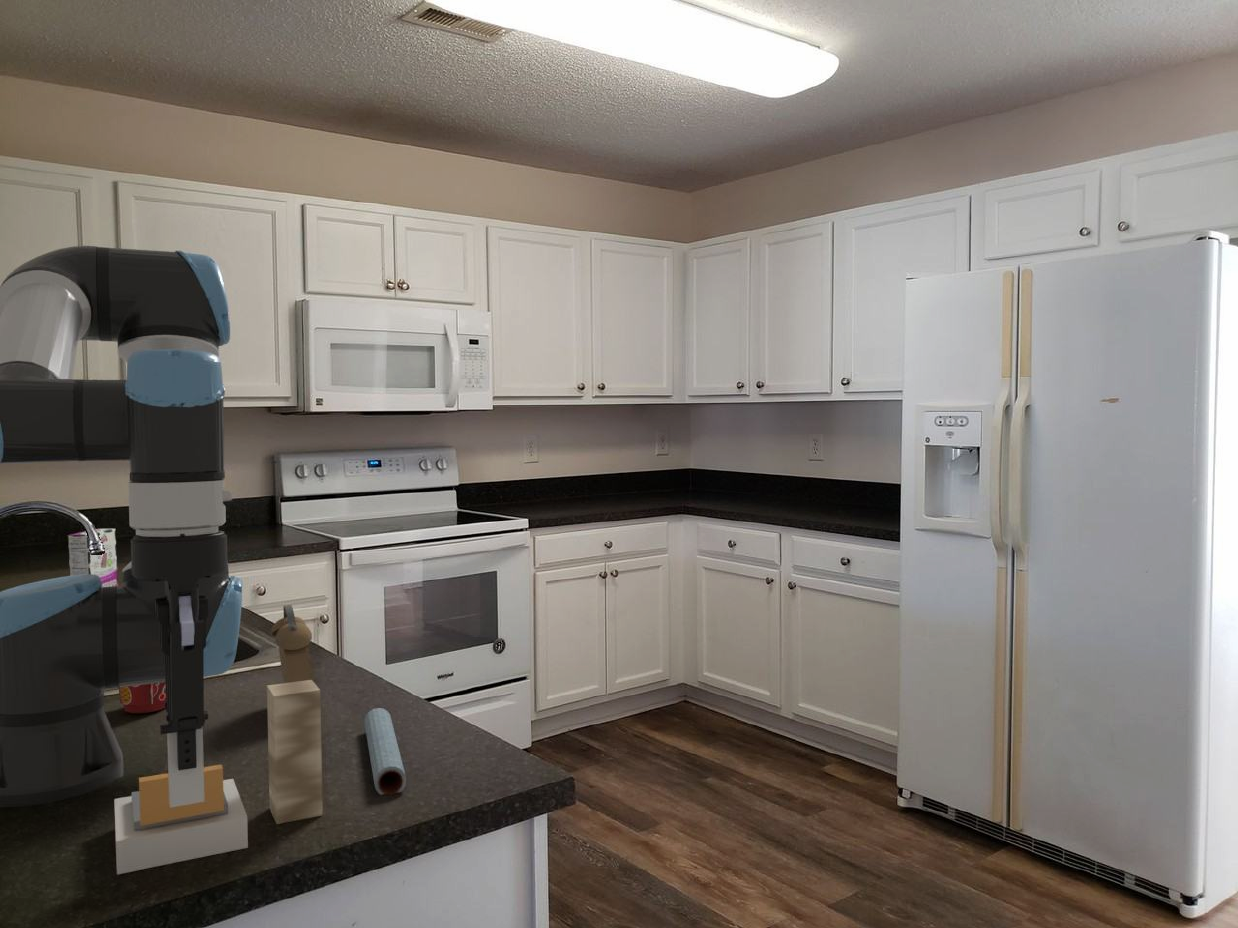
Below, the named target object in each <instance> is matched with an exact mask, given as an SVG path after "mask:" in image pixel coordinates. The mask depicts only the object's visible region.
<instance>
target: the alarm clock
mask: <svg viewBox="0 0 1238 928" xmlns="http://www.w3.org/2000/svg"><path fill="white" fill-rule="evenodd" d="M282 609H283V618H281V619H280V618H279V620H277V621H275V623H274V624H273V625H272V628H271V634H272V636H274V637H275V643H276V645H277V646H278V650H279V652H278V653H279V658H280V659H279V660H280V668H281V675H282V681H283V683H290V682H298V681H306V680H312V681H313V682H314V676H313V669H312V668H313V667H312V662H311V657H310V652H309V646H308V645H309V644H310V643H311V641H312V638H313V633H312V631H311V629H310V628H309V626H307V624H306V622H305V620H304V619H302V618H301V617H298V616H295V612H294V608H293V606H292V604H287V605H286V604H285V605H283V608H282Z"/></svg>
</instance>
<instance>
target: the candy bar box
mask: <svg viewBox="0 0 1238 928" xmlns="http://www.w3.org/2000/svg"><path fill="white" fill-rule="evenodd" d="M95 530H96V531H97V533H98V535H99V537H100V539H101V541H102V542H103V545H104V548H105V553H104V554H102V555H91V554H90V551H89V538H88V536H87V533H86V531H87V530H86V531H79V532H77V533H76V532H75V533H73V534H68V535H67V542H68V543H67V545H68V560H69V561H68V562H69V563H68V564H69V565H68V566H69V576H73V575H78V576H79V575H86V574H93V575H97V576H99V577H100V580H101V581H102V587H114V586H119V578H118V559H117V555H118V554H117V535H116V528H96V529H95Z"/></svg>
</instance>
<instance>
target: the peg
mask: <svg viewBox="0 0 1238 928" xmlns="http://www.w3.org/2000/svg"><path fill="white" fill-rule="evenodd" d="M266 692H267V693H266V695H267V696H266V697H267V698H266V699H267V700H266V703H267V706H266V707H267V742H268V745H267V747H268V748H267V749H268V750H267V751H268V785H269V786H268V789H269V791H268V793H269V795H268V797H269V810H270V812H271V814H272V817H273V820H274V822H275V824H276V825H281V824H284V823H289V822H290V823H291V822H295V821H301V820H305V819H311V818H316V817H319V816H323V811H324V810H323V807H324V806H323V767H322V765H323V763H322V761H323V759H322V717H321V716H322V715H321V713H322V712H321V711H322V710H321V709H322V708H321V689H320V688H319V687H318V686H317V684H316V683H315V682H314V680H313V681H312V680H306V681H298V682H290V683H284V682H283V683H276V684H269V685H266Z"/></svg>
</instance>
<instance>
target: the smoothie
mask: <svg viewBox="0 0 1238 928" xmlns="http://www.w3.org/2000/svg"><path fill="white" fill-rule="evenodd" d="M118 696H119V697H118V698H119V703H120V704H122V705H123V709H124V712H127V713H130V714H147V713H153V712H158V711H160V710H161V711H162V710H163V709H165V703H166V685H165V682H161V683H152V684H143V685H134V686H125V687H118Z"/></svg>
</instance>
